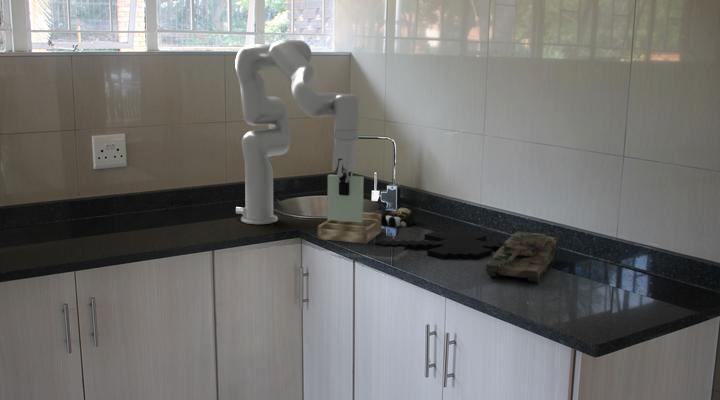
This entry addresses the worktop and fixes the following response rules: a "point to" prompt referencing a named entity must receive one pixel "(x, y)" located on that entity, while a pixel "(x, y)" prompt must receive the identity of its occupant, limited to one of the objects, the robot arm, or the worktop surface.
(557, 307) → the worktop surface
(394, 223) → the toy
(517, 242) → the toy
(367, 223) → the rack
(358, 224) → the offcut top
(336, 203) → the board
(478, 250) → the decorative axe
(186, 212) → the worktop surface
